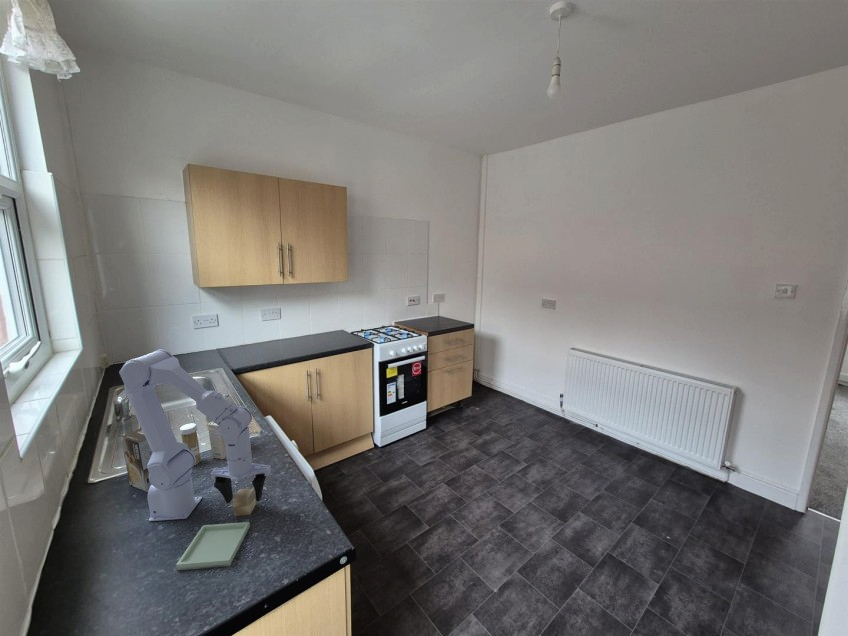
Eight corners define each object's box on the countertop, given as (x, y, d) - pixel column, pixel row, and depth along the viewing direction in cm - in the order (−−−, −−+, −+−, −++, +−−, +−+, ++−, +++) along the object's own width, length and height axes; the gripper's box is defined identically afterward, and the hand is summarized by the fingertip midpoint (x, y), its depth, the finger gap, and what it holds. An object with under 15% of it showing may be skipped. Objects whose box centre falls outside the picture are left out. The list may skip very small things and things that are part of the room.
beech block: (234, 516, 92) (232, 499, 91) (240, 505, 96) (239, 489, 95) (250, 515, 92) (248, 498, 91) (255, 504, 96) (254, 488, 95)
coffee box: (170, 479, 107) (162, 432, 104) (147, 492, 101) (138, 442, 98) (151, 472, 110) (143, 426, 107) (127, 485, 104) (119, 436, 101)
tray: (176, 570, 76) (176, 564, 76) (203, 530, 87) (202, 525, 87) (230, 565, 77) (229, 560, 77) (249, 527, 88) (249, 521, 88)
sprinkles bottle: (201, 464, 114) (196, 427, 112) (184, 469, 112) (179, 430, 109) (201, 457, 118) (196, 421, 116) (185, 462, 116) (179, 425, 113)
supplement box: (229, 446, 125) (225, 412, 123) (241, 447, 124) (237, 413, 122) (211, 459, 117) (206, 423, 115) (223, 460, 116) (219, 425, 114)
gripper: (202, 465, 86) (208, 512, 89) (262, 461, 88) (267, 508, 90) (215, 449, 93) (221, 494, 96) (271, 446, 95) (275, 490, 97)
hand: (244, 499), depth 94 cm, fingers open, 7 cm apart
